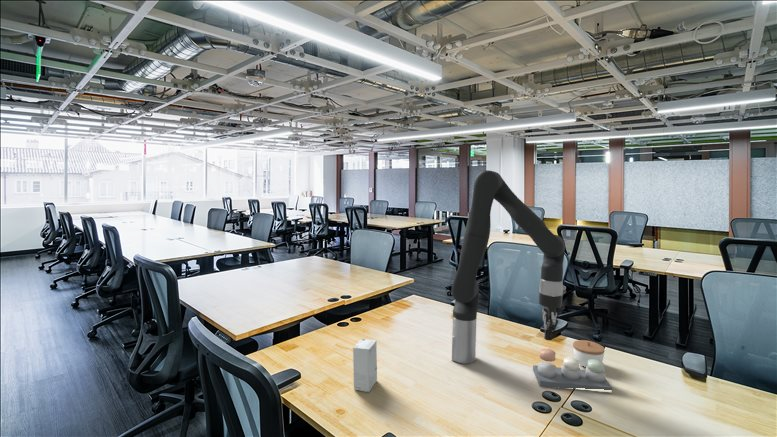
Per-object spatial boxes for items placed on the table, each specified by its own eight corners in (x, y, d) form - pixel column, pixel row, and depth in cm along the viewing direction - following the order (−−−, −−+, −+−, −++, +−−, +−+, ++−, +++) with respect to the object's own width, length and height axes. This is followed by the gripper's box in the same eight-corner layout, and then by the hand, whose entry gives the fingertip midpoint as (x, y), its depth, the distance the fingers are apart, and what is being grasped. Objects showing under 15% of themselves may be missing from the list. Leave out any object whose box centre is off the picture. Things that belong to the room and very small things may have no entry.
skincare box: (369, 393, 122) (369, 350, 120) (352, 389, 123) (352, 347, 122) (377, 380, 130) (377, 339, 128) (361, 377, 131) (361, 337, 130)
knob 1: (541, 360, 128) (542, 354, 128) (538, 354, 133) (538, 348, 133) (556, 362, 127) (557, 355, 127) (553, 355, 132) (553, 349, 132)
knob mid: (565, 370, 127) (565, 363, 127) (561, 363, 132) (561, 356, 132) (581, 371, 126) (581, 364, 126) (576, 364, 131) (576, 358, 131)
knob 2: (590, 372, 126) (590, 365, 125) (585, 365, 131) (585, 358, 130) (606, 373, 125) (606, 367, 125) (600, 366, 130) (600, 360, 129)
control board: (539, 386, 126) (540, 372, 126) (532, 370, 137) (533, 357, 137) (612, 393, 122) (613, 379, 122) (599, 376, 133) (600, 363, 132)
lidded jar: (568, 357, 148) (569, 334, 147) (597, 359, 146) (598, 337, 145) (576, 370, 137) (577, 346, 136) (607, 373, 135) (609, 349, 134)
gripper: (535, 286, 135) (533, 331, 137) (544, 296, 122) (541, 346, 124) (556, 287, 134) (554, 332, 136) (567, 298, 121) (564, 348, 123)
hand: (548, 339), depth 130 cm, fingers closed
